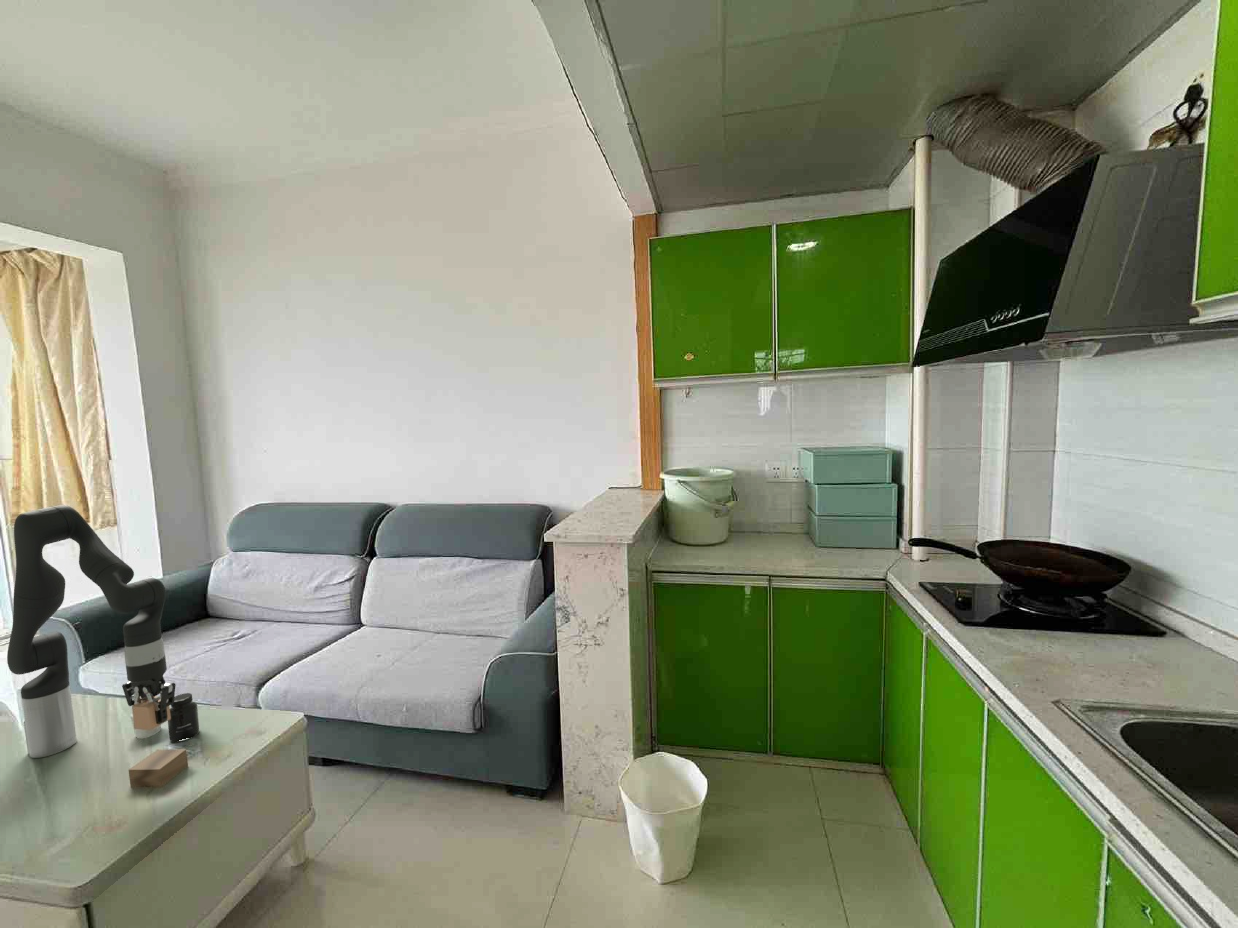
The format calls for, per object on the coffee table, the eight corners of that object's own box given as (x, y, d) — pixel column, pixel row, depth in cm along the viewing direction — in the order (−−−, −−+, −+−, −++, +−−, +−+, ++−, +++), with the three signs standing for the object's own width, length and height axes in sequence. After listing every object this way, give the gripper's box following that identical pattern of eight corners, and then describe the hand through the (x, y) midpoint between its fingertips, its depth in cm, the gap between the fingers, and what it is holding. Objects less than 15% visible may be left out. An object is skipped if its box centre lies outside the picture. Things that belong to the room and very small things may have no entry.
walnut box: (130, 788, 132) (128, 769, 132) (159, 767, 140) (157, 749, 140) (161, 787, 132) (159, 769, 132) (188, 766, 140) (186, 749, 140)
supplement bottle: (182, 744, 150) (178, 704, 149) (163, 742, 151) (159, 702, 150) (205, 730, 157) (201, 691, 155) (187, 728, 158) (183, 690, 157)
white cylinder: (161, 734, 155) (159, 711, 155) (130, 742, 151) (127, 719, 151) (165, 723, 161) (162, 701, 160) (135, 731, 157) (132, 709, 156)
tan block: (134, 728, 133) (131, 706, 132) (155, 717, 138) (152, 695, 137) (150, 730, 132) (148, 707, 131) (170, 718, 137) (168, 697, 136)
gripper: (106, 663, 131) (114, 728, 132) (153, 666, 128) (161, 732, 130) (138, 650, 138) (145, 711, 140) (183, 652, 136) (190, 715, 137)
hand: (153, 721), depth 135 cm, fingers closed on tan block, 5 cm apart
